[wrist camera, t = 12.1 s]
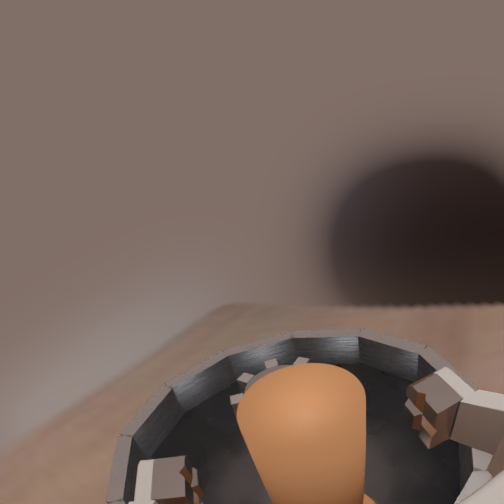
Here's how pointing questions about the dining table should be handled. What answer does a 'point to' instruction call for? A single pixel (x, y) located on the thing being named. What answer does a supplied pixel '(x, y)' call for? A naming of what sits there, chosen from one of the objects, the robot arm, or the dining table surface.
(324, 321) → the dining table surface
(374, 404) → the bowl
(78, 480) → the dining table surface
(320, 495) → the peg on round base
